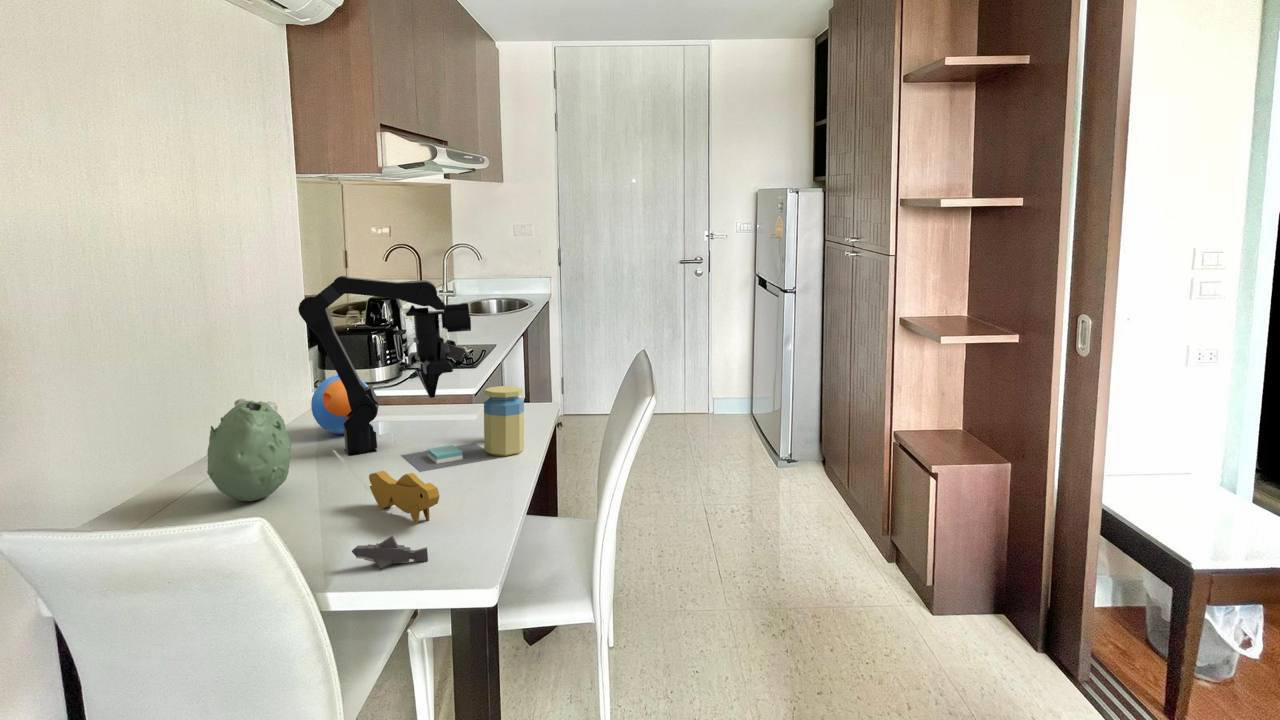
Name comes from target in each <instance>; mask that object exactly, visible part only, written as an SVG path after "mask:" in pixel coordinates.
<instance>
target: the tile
mask: <svg viewBox="0 0 1280 720" xmlns="http://www.w3.org/2000/svg"><path fill="white" fill-rule="evenodd" d="M426 449H427V450H426V451H428V457H429V458H430V459H432V460H433V461H434V462H436V463H437V464H438V463H443V462H449V461H455V460H461V459H463V455H462V451H461V450H459V449H458V448H456V447H455V445H454V444H450V445H444V446H443V445H442V446H437V447H431V448H426Z"/></svg>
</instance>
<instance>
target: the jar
mask: <svg viewBox="0 0 1280 720" xmlns="http://www.w3.org/2000/svg"><path fill="white" fill-rule="evenodd" d="M523 391H524V389H523V388H521V387H518V386H506V385H501V386H491V387H490V386H489V387H487V388H486V389H484V395H485V396H487V397H489V398H488V399H487V400H485V401H483V434H484V435H483V444H484V445H483V447H484V448H483V449H484V451H486V452H488V453H489V454H492V455H494V456H496V457H509V456H515V455H518V454H520V453H521V452H522V451H523V450H525V401H524V400H523V399H521V398H520V396H521V395H523V394H524V392H523Z"/></svg>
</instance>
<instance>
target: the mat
mask: <svg viewBox="0 0 1280 720" xmlns="http://www.w3.org/2000/svg"><path fill="white" fill-rule="evenodd" d="M454 446H455V445H454ZM455 447H456V448H458V449H459V450H461V451H462V455H463V459H461V460H455V461H449V462H443V463H438V464H437V463H436V462H434V461H433V460H432V459H430V458H429V457H428V450H424V451H419V452H418V451H417V452H412V453H406V454H400V456H401V457H402V458H403V459H404V460H405V461H406V462H408V463H409V464H410V465H411V466H412V467H414V469H415V470H417V471H419V473H424V472H427V471H434V470H438V469H444V468H451V467H455V466H462V465H468V464H473V463H479V462H486V461H490V460H496V459H498V456H494V455H492V454H489V453H488V452H486V451H484V448H483V447H482V446H480V445H478V444H477V443H475V442H472V443H467V444H461V445H456V446H455Z"/></svg>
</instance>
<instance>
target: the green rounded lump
mask: <svg viewBox="0 0 1280 720" xmlns="http://www.w3.org/2000/svg"><path fill="white" fill-rule="evenodd" d="M208 439H209V440H208V442H209V443H208V447H207V453H206V455H207V471H206V473H207V475H208V477H209V478H210V480H211V481H212V483H213V484H214V486H215V487H216V488H217V489H218V491H220V492H221V494H224V495H226V496H228V497H229V498H230V499H233V500H237V501H240V502H241V501H242V502H255V501H258V500H262V499H264V498H267V497H269V496H270V495H272V494H273V493H274V492H275V491H276V490H278V488H279V487H280V486H282V485H283V483H285V481H286V480H287V478H288V476H289V471H290V460H291V458H292V454H291V450H292V448H291V447H292V442H291V439H290V436H289V434H288V430H287V428H286V424H285V420H284V419H283V417H282V416H281V415H280V413H278V405H277V404H276V403H275V402H273V401H267V402H263V401H261V400H260V401H254V400H246V399H245V398H240V399H237V400H235V401H234V407H232V408H230V410H229V411H228V412H226V413H225V414H224V415H223V416H222V417H220V423H218V426H217V427H215V428H214V426H213V425H210V431H209V438H208Z"/></svg>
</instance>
